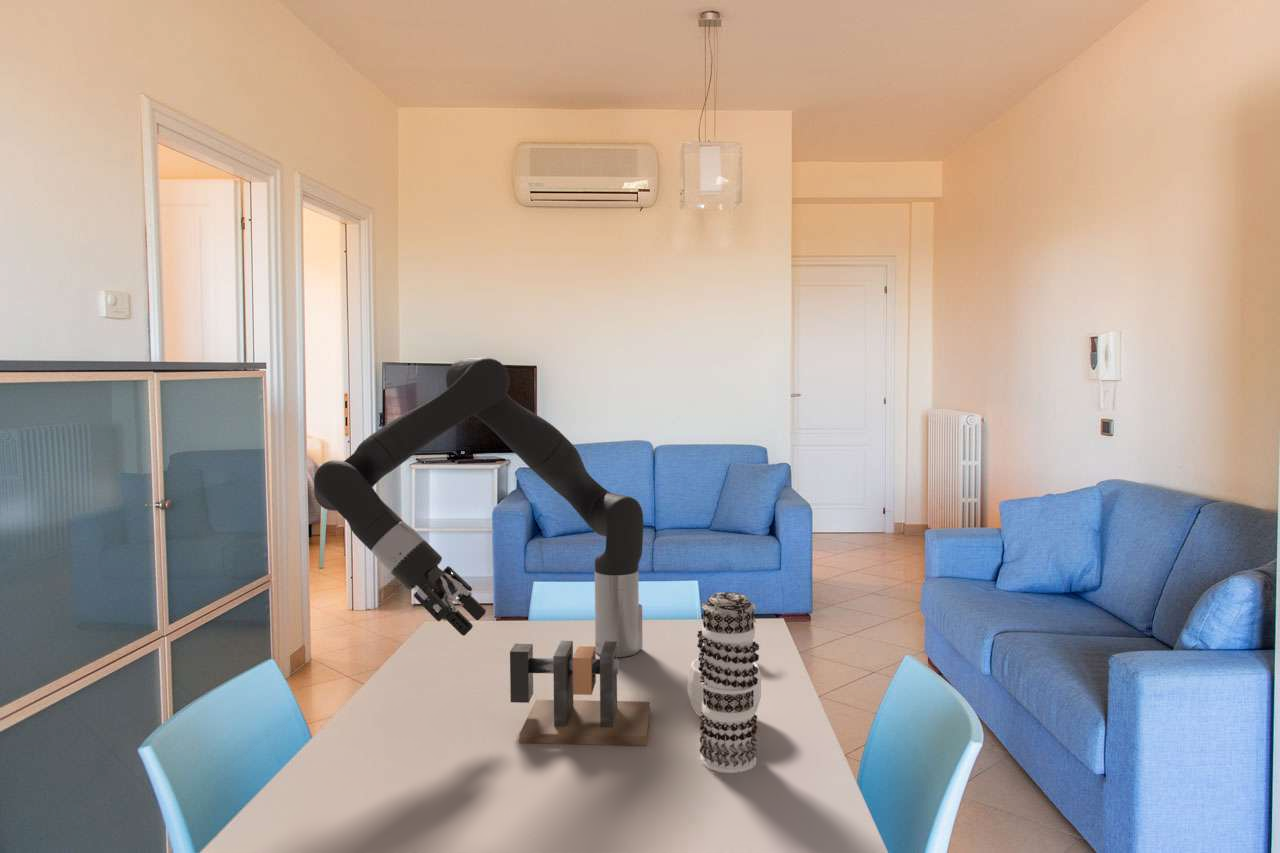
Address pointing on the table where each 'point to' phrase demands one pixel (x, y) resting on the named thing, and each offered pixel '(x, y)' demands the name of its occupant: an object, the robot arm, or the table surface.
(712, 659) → the decorative candle
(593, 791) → the table surface
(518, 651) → the shaft
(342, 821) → the table surface
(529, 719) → the rig
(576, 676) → the spacer
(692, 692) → the cup
